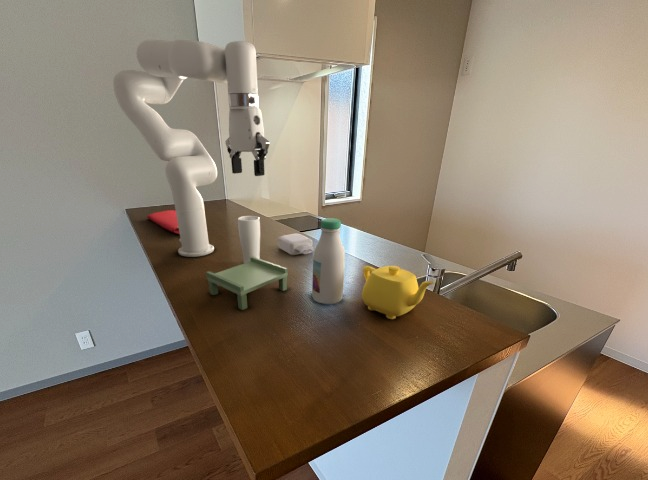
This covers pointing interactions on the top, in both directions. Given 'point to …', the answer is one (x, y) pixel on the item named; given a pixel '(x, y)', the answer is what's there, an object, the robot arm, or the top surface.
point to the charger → (295, 244)
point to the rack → (248, 278)
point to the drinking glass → (249, 237)
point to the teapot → (392, 290)
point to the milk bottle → (328, 264)
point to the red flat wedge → (166, 220)
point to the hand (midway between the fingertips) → (248, 174)
